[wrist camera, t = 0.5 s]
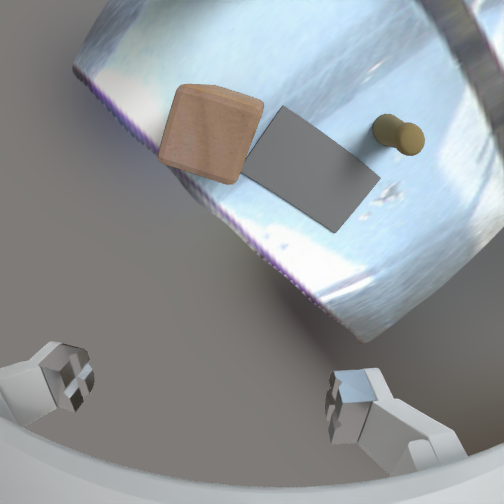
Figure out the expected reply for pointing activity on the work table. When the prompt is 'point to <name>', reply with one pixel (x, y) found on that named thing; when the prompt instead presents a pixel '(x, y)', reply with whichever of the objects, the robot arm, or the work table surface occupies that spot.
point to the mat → (309, 170)
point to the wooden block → (210, 131)
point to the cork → (398, 134)
